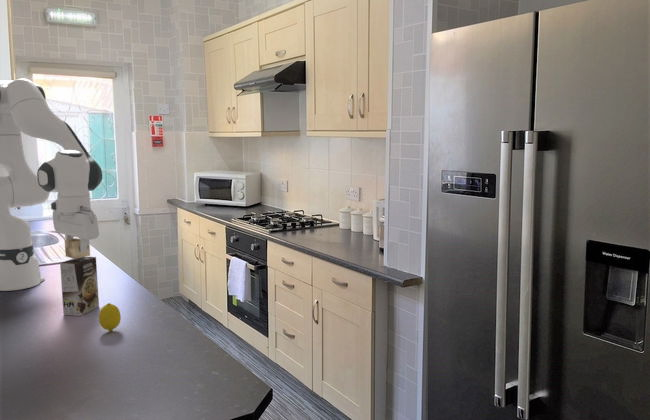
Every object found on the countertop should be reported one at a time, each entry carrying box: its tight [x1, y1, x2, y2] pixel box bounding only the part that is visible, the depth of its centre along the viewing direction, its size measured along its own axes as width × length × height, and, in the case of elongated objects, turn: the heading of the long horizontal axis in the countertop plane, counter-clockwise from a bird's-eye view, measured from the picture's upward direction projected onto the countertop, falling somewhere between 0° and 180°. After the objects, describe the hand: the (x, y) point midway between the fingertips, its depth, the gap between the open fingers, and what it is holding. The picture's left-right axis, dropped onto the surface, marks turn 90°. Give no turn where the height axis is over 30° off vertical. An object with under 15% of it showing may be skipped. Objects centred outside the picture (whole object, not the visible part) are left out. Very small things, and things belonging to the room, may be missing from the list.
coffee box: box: [59, 256, 100, 317], centre depth 167 cm, size 9×6×16 cm
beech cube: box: [64, 237, 91, 259], centre depth 165 cm, size 5×5×5 cm
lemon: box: [98, 302, 122, 332], centre depth 150 cm, size 6×6×8 cm
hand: (77, 250), depth 165 cm, fingers closed on beech cube, 5 cm apart
